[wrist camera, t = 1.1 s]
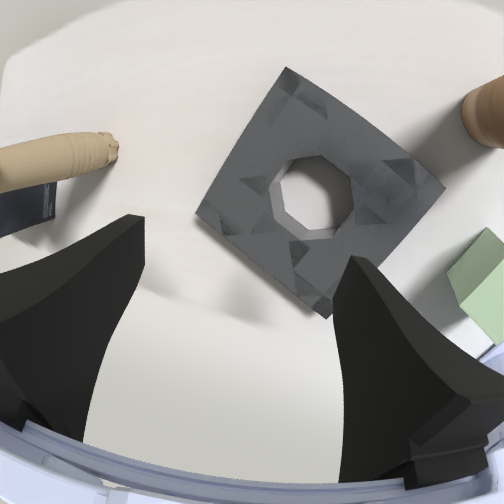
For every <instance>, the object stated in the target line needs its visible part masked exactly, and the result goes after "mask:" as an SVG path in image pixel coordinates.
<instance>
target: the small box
mask: <svg viewBox="0 0 504 504" xmlns="http://www.w3.org/2000/svg"><path fill="white" fill-rule="evenodd" d="M55 192H56V181H55V182H50V183H45V184H39V185H34V186H30V187H25V188H21V189H16V190H12V191H8V192H4V193H1V194H0V238H2V237H4V236H7V235H9V234H12V233H15V232H18V231H20V230H23V229H25V228H28V227H31V226H34V225H36V224H40V223H43V222H46V221H49V220H53V219H54V207H55Z"/></svg>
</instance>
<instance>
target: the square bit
mask: <svg viewBox="0 0 504 504" xmlns="http://www.w3.org/2000/svg"><path fill="white" fill-rule="evenodd" d="M446 273H447V275H448V278H449V280H450V283H451V286H452V288H453V291H454V293H455V296H456V299H457V302H458V304H459V306H460V307H461V308H462V309H463V310H464V311H465V312H466V313H467V314H468V316H469V317H470V318H471V319H472V320H473V321H474V322H475V323H476V324H477V325H478V326H479V327H480V328H481V329H482V330H483V331H484V332H485V334H486V335H487V336H488V337H489V338H490V339H491V340H492V341H493V342H494V343H495V345H496V346H497V345H498V344H500V343H501V342H502V341H503V340H504V243H503V242H502V241H501V240H500V239H499V238H498V237H497V236H496V235H495V234H494V233H493V232H492V231H491V230H490V229H489V228H488V227H486V228H485V230H484V231H483V232H482V233H481V234H480V236H479V237H478V238H477V239H476V240H475V241H474V242H473V244H472V245H471V246H470V247H469V248H468V249H467V250H466V252H465V253H464V254H463V255H462V256H461V257H460V258H459V259H458V260H457V261H456V263H455V264H454V265H453V266H452V267H451V268H450V269H449V270H448V271H447V272H446Z"/></svg>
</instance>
